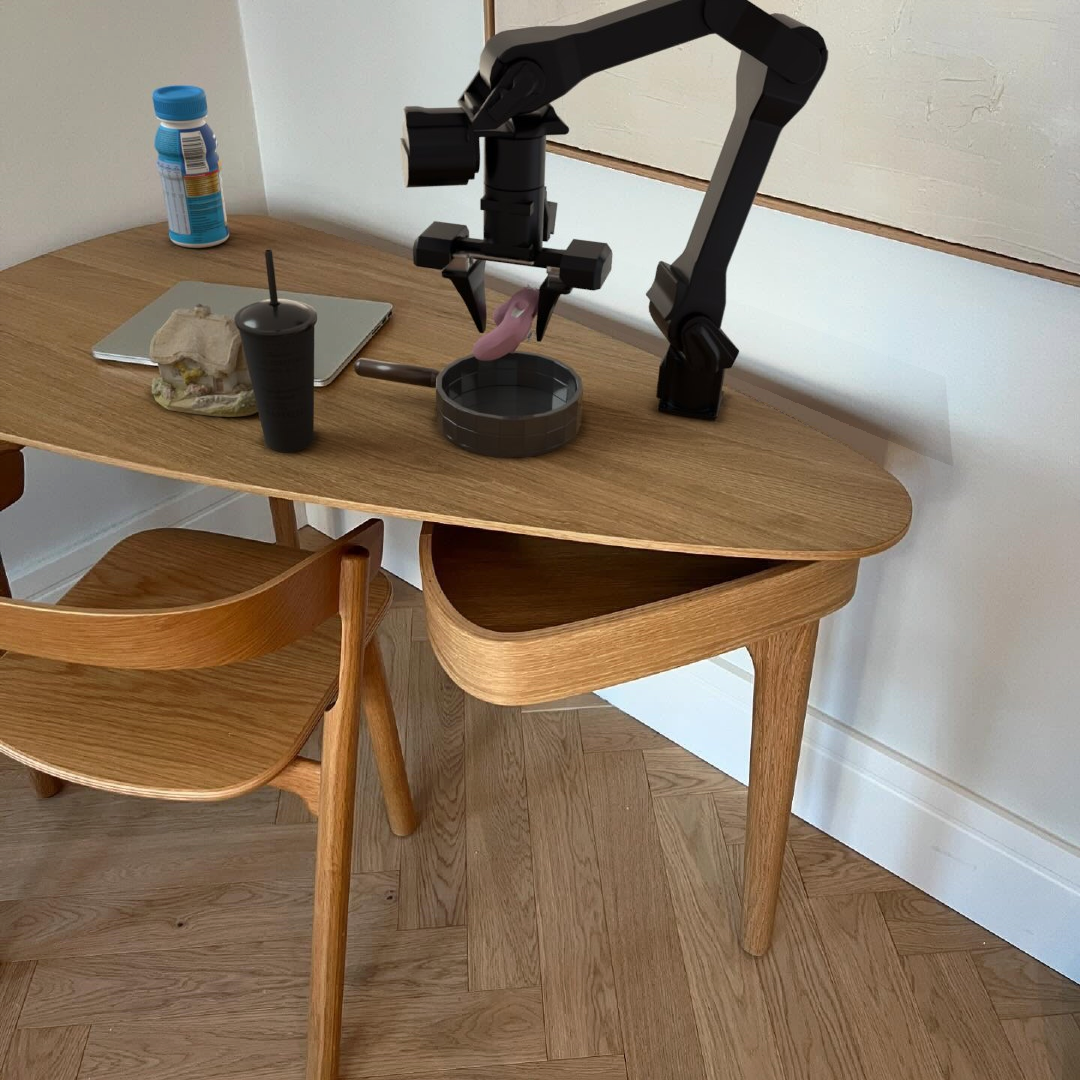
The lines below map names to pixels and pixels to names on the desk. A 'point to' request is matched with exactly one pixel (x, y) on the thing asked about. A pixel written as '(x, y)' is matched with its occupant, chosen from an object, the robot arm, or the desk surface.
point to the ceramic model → (201, 365)
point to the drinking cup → (281, 365)
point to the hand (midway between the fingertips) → (511, 335)
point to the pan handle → (396, 372)
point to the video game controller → (509, 325)
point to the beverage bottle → (189, 168)
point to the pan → (509, 404)
